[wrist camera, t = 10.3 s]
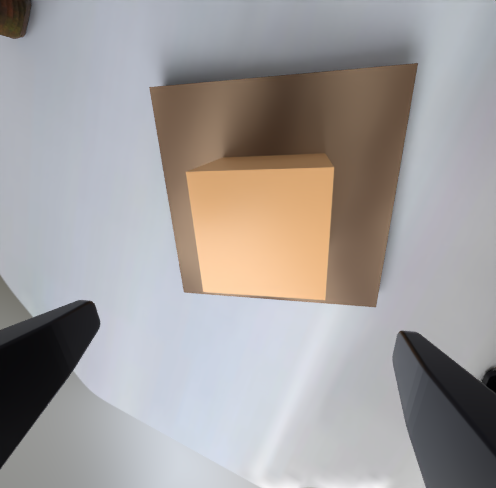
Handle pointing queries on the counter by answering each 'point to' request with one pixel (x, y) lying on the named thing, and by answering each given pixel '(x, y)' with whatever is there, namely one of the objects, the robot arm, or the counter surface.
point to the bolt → (14, 17)
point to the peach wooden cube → (263, 224)
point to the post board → (292, 143)
